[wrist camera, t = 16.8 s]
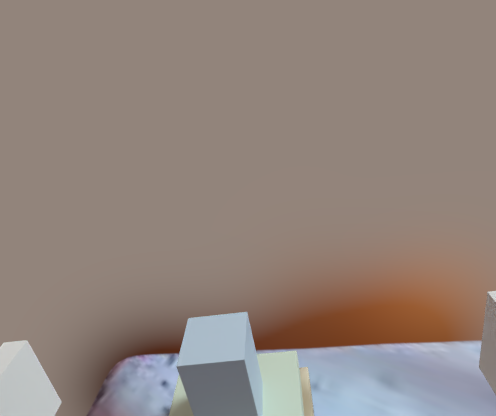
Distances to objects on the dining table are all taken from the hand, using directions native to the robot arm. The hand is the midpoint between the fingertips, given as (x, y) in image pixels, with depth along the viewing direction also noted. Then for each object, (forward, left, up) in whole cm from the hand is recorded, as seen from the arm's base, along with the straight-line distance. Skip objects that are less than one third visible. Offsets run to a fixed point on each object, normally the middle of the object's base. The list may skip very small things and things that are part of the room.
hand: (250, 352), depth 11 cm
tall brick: (+7, -19, -27) cm, 34 cm away
